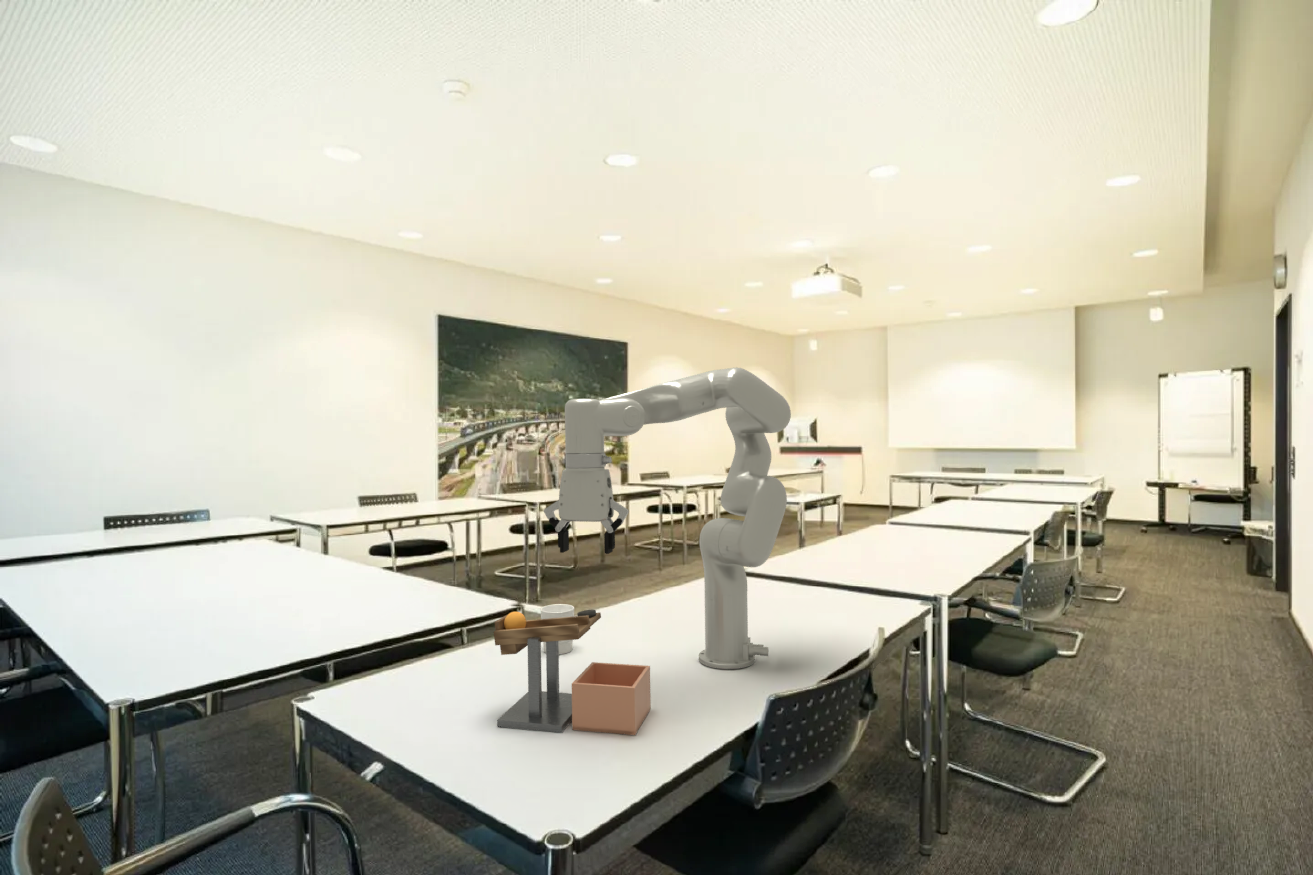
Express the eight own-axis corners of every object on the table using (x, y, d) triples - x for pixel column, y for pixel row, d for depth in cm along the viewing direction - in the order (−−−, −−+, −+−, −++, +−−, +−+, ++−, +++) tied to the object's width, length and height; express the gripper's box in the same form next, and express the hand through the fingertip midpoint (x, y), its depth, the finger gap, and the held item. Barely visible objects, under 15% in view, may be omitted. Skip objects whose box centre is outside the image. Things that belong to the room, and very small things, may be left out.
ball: (531, 628, 128) (527, 607, 128) (522, 634, 124) (518, 612, 124) (512, 632, 129) (507, 611, 129) (502, 638, 125) (498, 616, 125)
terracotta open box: (650, 708, 126) (650, 665, 126) (635, 735, 115) (634, 687, 115) (592, 704, 129) (592, 662, 129) (572, 729, 118) (571, 683, 118)
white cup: (568, 656, 157) (567, 613, 157) (536, 654, 159) (535, 611, 158) (579, 645, 165) (578, 604, 165) (548, 644, 166) (547, 603, 166)
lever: (604, 627, 134) (600, 596, 134) (579, 650, 120) (575, 616, 120) (529, 633, 138) (525, 603, 138) (496, 656, 124) (492, 623, 124)
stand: (588, 701, 131) (587, 622, 130) (561, 732, 117) (560, 644, 117) (529, 696, 133) (528, 619, 133) (497, 726, 120) (495, 641, 120)
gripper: (633, 461, 134) (634, 550, 134) (550, 462, 138) (551, 547, 138) (622, 463, 127) (624, 556, 127) (535, 463, 131) (536, 554, 131)
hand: (586, 551), depth 133 cm, fingers open, 8 cm apart
